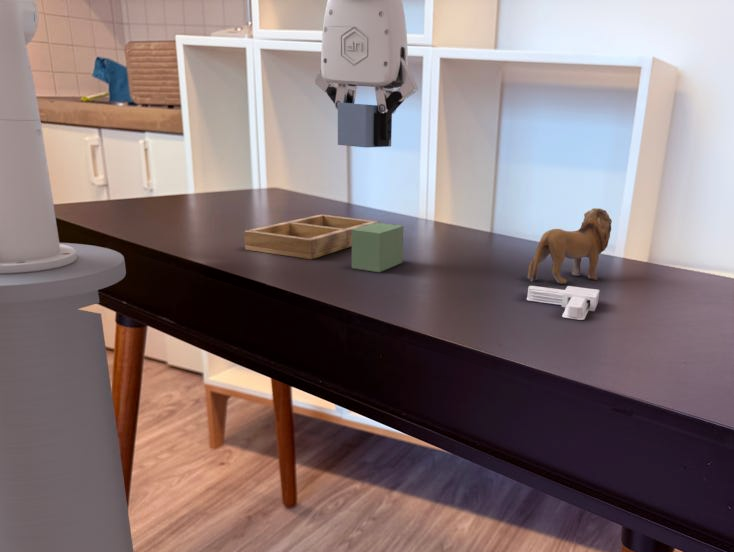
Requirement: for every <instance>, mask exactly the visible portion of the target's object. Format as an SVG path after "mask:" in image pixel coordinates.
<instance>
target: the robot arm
mask: <svg viewBox="0 0 734 552" xmlns="http://www.w3.org/2000/svg"><path fill="white" fill-rule="evenodd" d="M324 10H325V11H324V18H323V23H322V24H323V25H322V34H321V55H320V70H319V72H318V74H317V75H316V77H315V80H314V82H315V85H317V87H318V88H319V89H321V90H322V91H323V92H324V93H326V94H327V96H328V98H329V99H330V100H331V101H332V103H333V104H334V108H335V109H336V110H337V111H338V102H339V103H352V104H355V102H356V96H357V90H358V87H372V88H374V93H375V99H376V105H377V107H378V113H375V114H374V145H375V146H376V147H375V148H386V146H389V140H390V139H391V140H392V131H393V130H392V127H393V125H392V124H393V114H394V115H395V113H396V112H397V109H398V108H399V107H400V106H401V105H402V104H403V102H404V101H405V100H406V99H408V98H410V97H411V96H412V95H414V94H415V93H417V92H418V90H419V86H418V84H417V82H416V80H415V78H414V76H413V74H412V72H411V70H410V68H409V55H408V54H409V51H408V33H407V21H406V15H405V10H404V4H403V0H327V1H326V5H325V9H324ZM38 27H39V9H38V4H37V0H0V274H14V273H27V272H36V271H43V270H50V269H55V268H59V267H63V266H66V265H69V264H71V263H73V262H74V261H76V259H77V255H76V250H75V249H74V248H72V247H70V246H66V245H62V244H59V243H60V238H59V231H58V225H57V219H56V211H55V205H54V204H55V203H54V198H53V192H52V186H51V180H50V173H49V166H48V159H47V152H46V146H45V140H44V139H45V138H44V134H43V127H42V120H41V117H40V109H39V103H38V97H37V91H36V86H35V80H34V75H33V71H32V67H31V63H30V57H29V53H28V49H27V46H28V45H29V44H30V43H31V41H33V39H34V38H35V36H36V33H37V31H38ZM335 84H337V86H336V85H335ZM394 89H396V90H394Z"/></svg>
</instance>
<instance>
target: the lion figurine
mask: <svg viewBox="0 0 734 552" xmlns="http://www.w3.org/2000/svg"><path fill="white" fill-rule="evenodd" d="M612 221H613V220H612V218H611V217H610V215H609V213H608V212H607V210H605V209H603V208H597V207H596V208H591V210H587V211H586V212H585V213H584V214H583V221H582V222H581V226H580V227H579V229H578V230H571V231H569V230H568V231H567V230H564V229H561V228H552V229H550V230H547V231H545V232H544V233H543V234H542V236H541V237H540V240H539V242H538V244H537V247H536V251H535V254H534V258H533V259H532V260H531V261H530V263H529V266H528V271H527V279H528V280H529V281H530V282H532V283H533V282H536V281H537V280H538V276H537V275H538V267H539V265H540V264H541V263H543V261H545V260H546V259H547V258H548V256H549V255H550V258H551V260H552V269H551V274H552V276H553V277H554V279H555V280H556V283H558V284H561V285H565V284H566V285H567V283H568V280H567V279H566V278H564V277H563V276H561V267H562V265H563V262H564V261H565V258H566V259H569V260H573V265H572V268H571V275H572V276H574V277H575V276H576V277H578V276H581V274H582V273H581V261H582V258H588V261H589V262H588V263H589V266H588V269H587V278H588V279H589V280H595V281H596V280H598V276H597V275H596V274H595V272H596V269H597V265H598V262H599V257H600V256H599V255H601V254H602V253H603V252H604V251H606V249H607V248H608V246H609V240H610V238H611V232H612Z"/></svg>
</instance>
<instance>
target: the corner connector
mask: <svg viewBox="0 0 734 552" xmlns="http://www.w3.org/2000/svg"><path fill="white" fill-rule="evenodd" d="M599 296H600V289H595V288H587V287H580V286H572V285H567V286H566V288H565V289H559V288H554V287H553V288H552V287H545V286H536V285H529V286H528V287H527V296H526V301H528V302H529V301H530V302H536V303H544V304H550V305H559V306H561V308H564V311H563V312H562V314H561V317H562V318H565V319H571V320H577V321H578V320H579V321H583V320H584V321H585V319H586V317H587V314H588V313H589V312H595V311H596V309H597V306H598V303H599Z"/></svg>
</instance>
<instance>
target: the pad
mask: <svg viewBox="0 0 734 552" xmlns="http://www.w3.org/2000/svg"><path fill="white" fill-rule="evenodd" d="M403 255H404V225H399V224H393V223H392V224H391V223H383V222H379V223H374V224H370V225H366V226H363V227H359V228H356V229H352V246H351V269H354V270H360V271H367V272H374V273H381V272H383V271H386V270H389V269H390V268H391V269H392V268H393V267H396V266H398V265H400V264H403Z"/></svg>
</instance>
